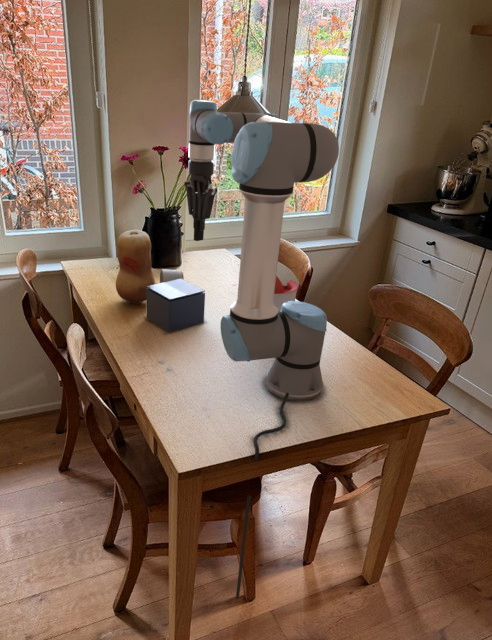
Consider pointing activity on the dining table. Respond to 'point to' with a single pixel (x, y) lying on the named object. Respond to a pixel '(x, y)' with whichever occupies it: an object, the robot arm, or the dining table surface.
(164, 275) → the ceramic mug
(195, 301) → the carton
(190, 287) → the flap
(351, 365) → the dining table surface
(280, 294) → the citrus juicer
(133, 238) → the butternut squash
